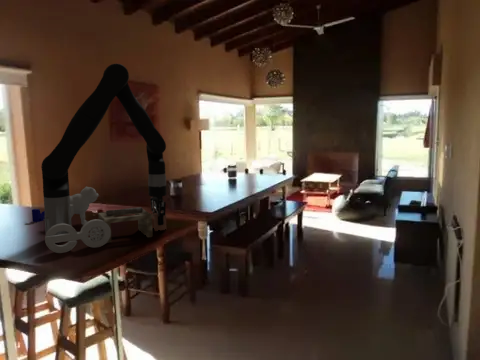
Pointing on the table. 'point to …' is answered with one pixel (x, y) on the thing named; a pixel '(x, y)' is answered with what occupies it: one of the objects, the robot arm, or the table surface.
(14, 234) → the table surface
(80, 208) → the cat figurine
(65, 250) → the gray double disc plate
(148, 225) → the shelf
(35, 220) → the cable clip
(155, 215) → the tan block
